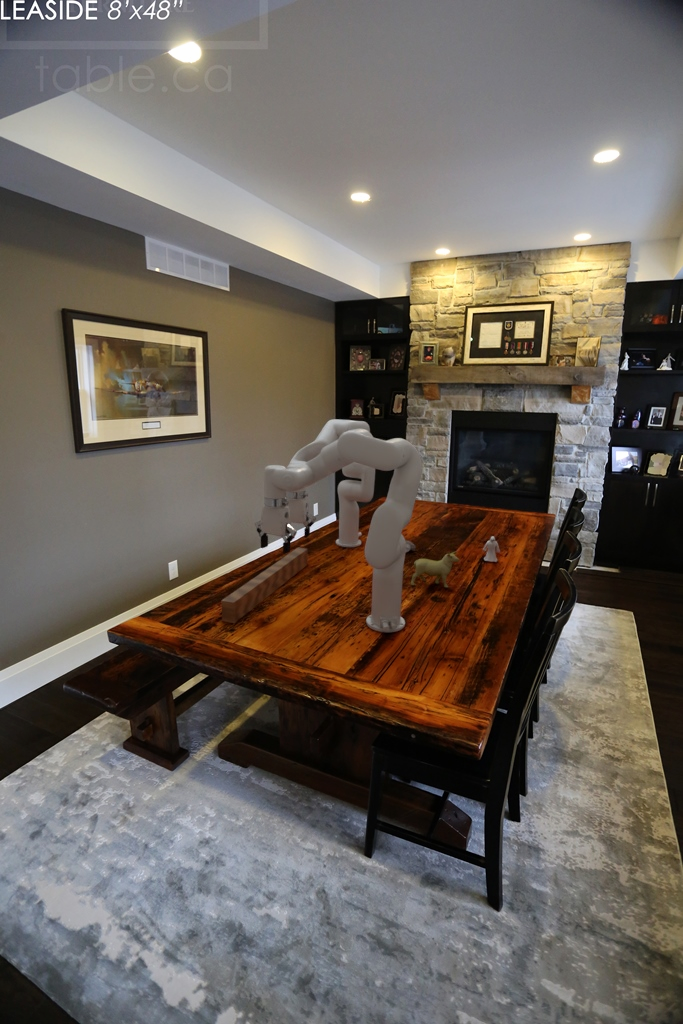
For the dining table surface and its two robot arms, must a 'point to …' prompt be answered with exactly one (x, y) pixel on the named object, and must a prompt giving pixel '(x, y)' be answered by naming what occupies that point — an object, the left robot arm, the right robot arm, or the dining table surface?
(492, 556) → the figurine
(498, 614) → the dining table surface
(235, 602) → the beam
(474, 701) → the dining table surface
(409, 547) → the seashell
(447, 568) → the toy
